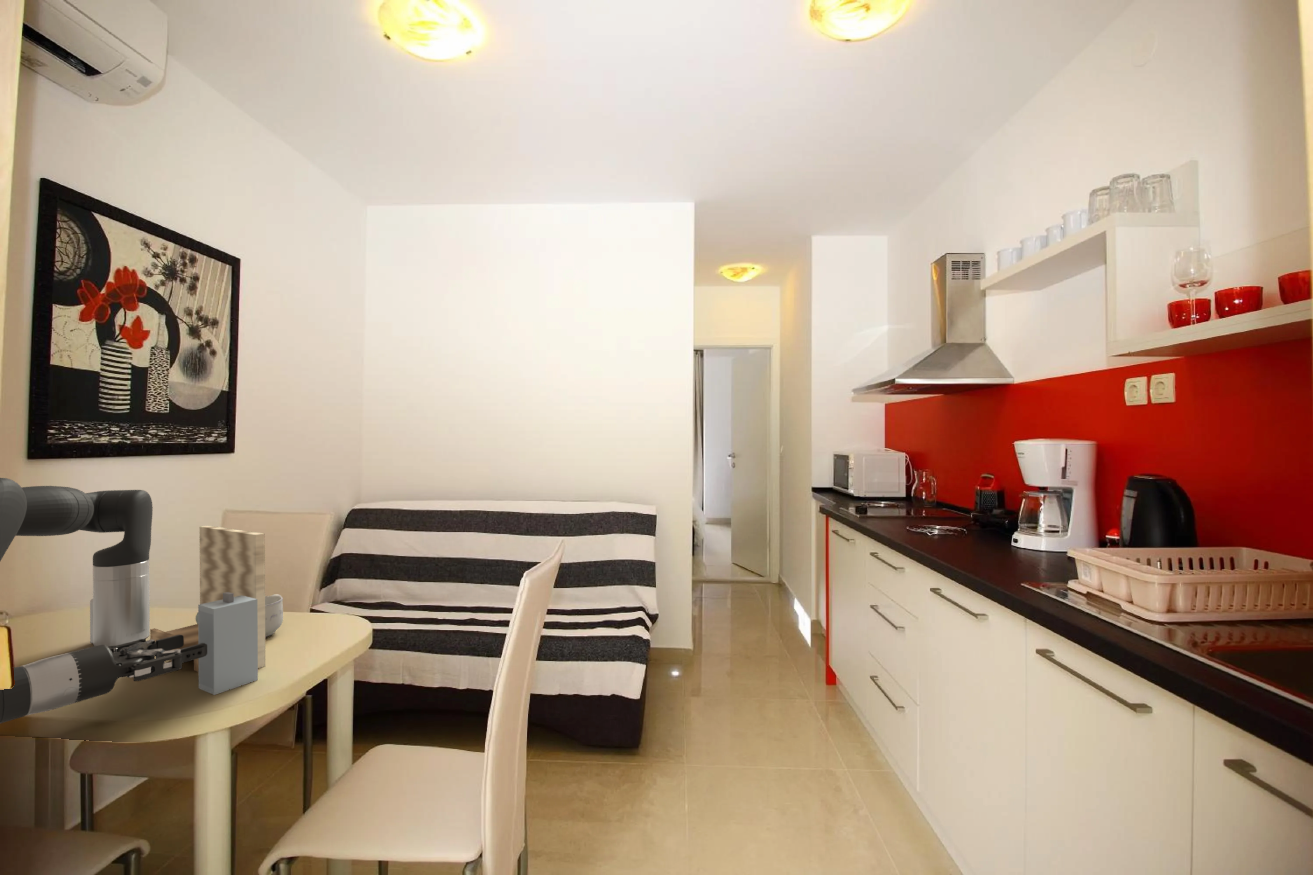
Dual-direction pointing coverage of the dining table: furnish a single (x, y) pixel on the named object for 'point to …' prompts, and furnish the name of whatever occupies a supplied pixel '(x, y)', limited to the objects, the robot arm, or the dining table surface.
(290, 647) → the dining table surface
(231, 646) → the bottle
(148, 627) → the robot arm
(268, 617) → the teacup
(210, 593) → the wooden display stand
